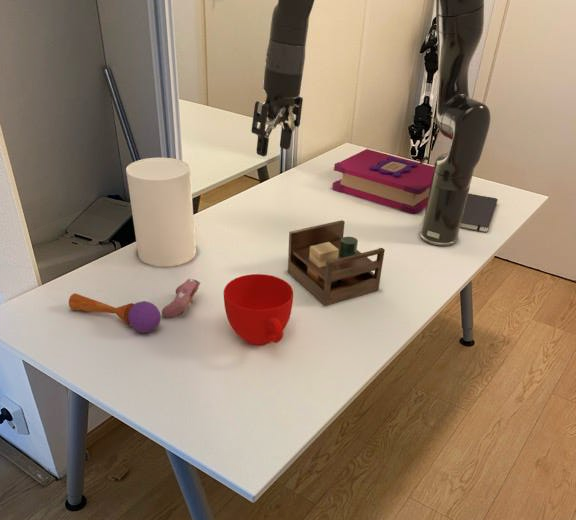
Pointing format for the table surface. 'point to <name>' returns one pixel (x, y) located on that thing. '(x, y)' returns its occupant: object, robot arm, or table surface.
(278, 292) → the ceramic cup
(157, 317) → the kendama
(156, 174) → the canister
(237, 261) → the table surface
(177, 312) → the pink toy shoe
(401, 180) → the book
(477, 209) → the notebook
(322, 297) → the rack
